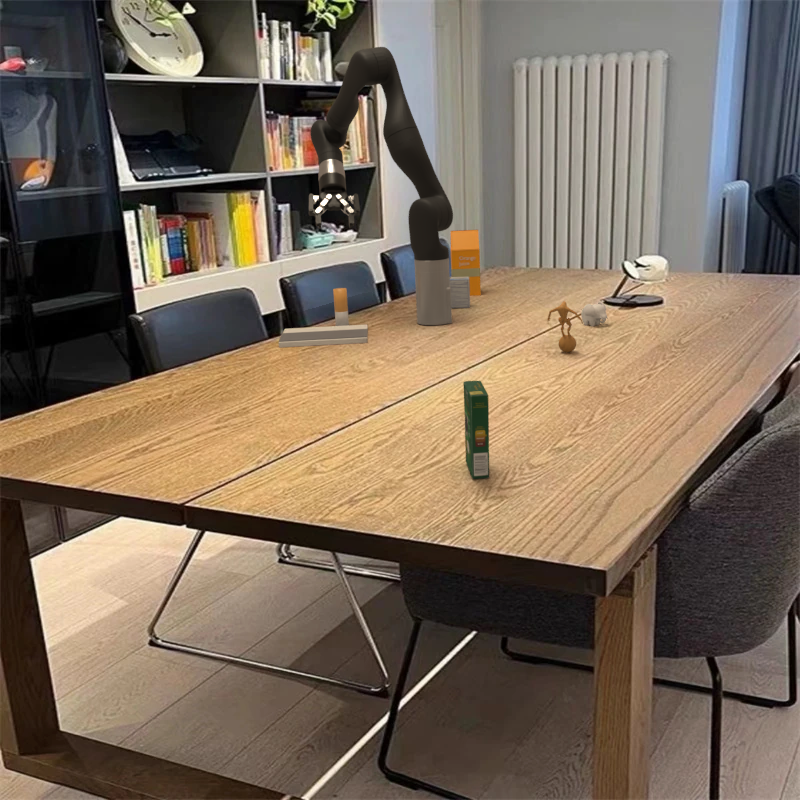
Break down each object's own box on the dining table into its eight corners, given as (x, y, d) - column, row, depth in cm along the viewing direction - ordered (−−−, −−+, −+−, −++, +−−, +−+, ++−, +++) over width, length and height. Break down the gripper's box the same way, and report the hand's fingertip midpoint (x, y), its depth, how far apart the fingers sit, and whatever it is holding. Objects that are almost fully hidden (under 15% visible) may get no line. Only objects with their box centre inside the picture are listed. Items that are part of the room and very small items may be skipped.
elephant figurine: (597, 329, 242) (597, 305, 240) (572, 325, 248) (572, 302, 246) (614, 324, 246) (614, 301, 245) (589, 321, 252) (589, 299, 251)
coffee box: (491, 479, 141) (489, 393, 138) (471, 480, 141) (469, 394, 138) (483, 461, 149) (481, 379, 146) (465, 462, 149) (462, 380, 145)
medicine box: (470, 305, 284) (469, 276, 282) (469, 308, 280) (469, 278, 277) (443, 306, 285) (442, 277, 283) (442, 309, 281) (441, 279, 278)
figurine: (588, 351, 218) (588, 299, 215) (578, 357, 213) (578, 303, 210) (553, 349, 222) (553, 297, 219) (543, 354, 218) (542, 302, 214)
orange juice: (480, 295, 301) (479, 230, 295) (452, 296, 301) (450, 232, 296) (479, 291, 308) (477, 228, 303) (451, 292, 308) (449, 229, 303)
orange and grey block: (348, 323, 265) (346, 287, 263) (348, 326, 262) (346, 289, 259) (335, 324, 265) (333, 288, 262) (335, 326, 262) (332, 290, 259)
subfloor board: (367, 328, 257) (367, 323, 256) (367, 342, 239) (367, 337, 239) (285, 333, 256) (284, 328, 256) (278, 347, 239) (278, 341, 239)
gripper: (307, 171, 269) (310, 218, 262) (358, 171, 271) (362, 218, 264) (306, 188, 276) (309, 234, 269) (356, 187, 278) (360, 234, 271)
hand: (335, 226), depth 266 cm, fingers open, 8 cm apart
